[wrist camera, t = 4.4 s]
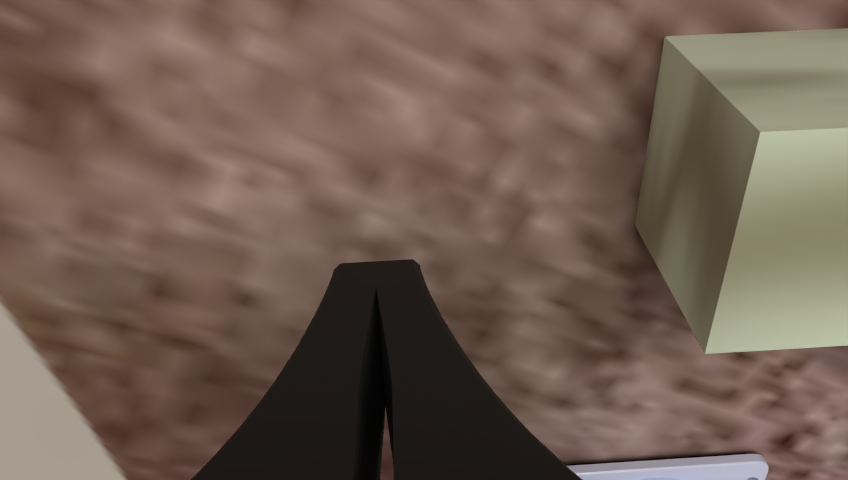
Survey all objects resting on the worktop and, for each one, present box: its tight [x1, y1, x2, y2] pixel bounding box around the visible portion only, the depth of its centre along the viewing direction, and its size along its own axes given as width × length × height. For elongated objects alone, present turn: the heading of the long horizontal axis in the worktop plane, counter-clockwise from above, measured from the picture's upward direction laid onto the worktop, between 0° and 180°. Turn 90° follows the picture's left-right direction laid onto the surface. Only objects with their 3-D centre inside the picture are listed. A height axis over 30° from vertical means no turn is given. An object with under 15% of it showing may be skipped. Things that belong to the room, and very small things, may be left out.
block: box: [635, 28, 848, 354], centre depth 16 cm, size 5×5×5 cm
